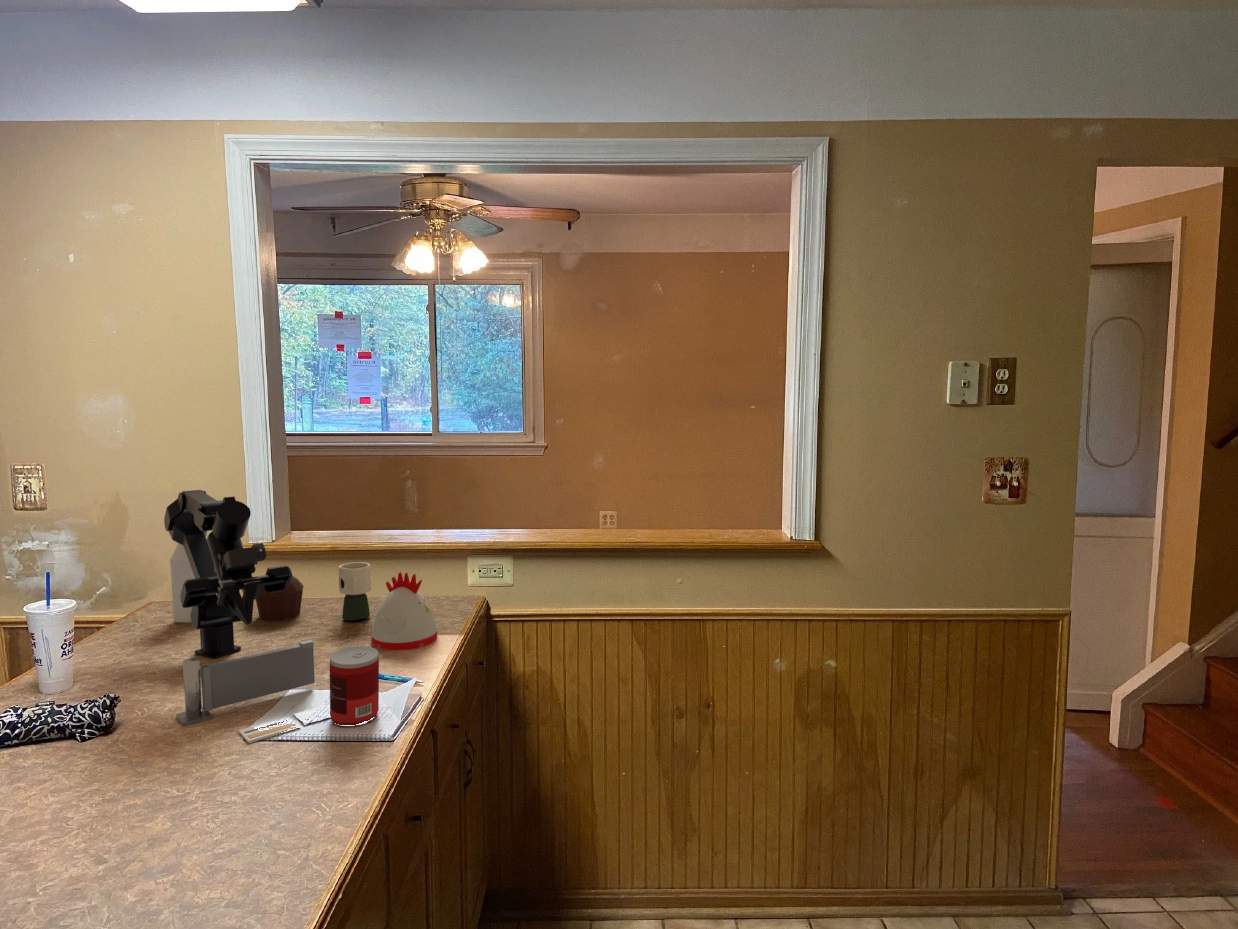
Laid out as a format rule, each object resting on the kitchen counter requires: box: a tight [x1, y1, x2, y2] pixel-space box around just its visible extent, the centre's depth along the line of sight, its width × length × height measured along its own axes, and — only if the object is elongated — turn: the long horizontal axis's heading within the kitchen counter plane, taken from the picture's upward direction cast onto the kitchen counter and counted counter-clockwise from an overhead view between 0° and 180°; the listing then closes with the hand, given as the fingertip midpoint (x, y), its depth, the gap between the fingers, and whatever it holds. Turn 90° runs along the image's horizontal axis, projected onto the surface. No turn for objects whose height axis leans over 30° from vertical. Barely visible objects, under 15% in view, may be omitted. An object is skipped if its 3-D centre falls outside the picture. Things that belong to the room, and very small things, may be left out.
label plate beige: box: [238, 720, 296, 744], centre depth 127 cm, size 8×5×1 cm, turn 132°
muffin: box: [255, 575, 305, 622], centre depth 187 cm, size 12×11×10 cm
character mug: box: [338, 561, 372, 622], centre depth 184 cm, size 11×7×13 cm, turn 16°
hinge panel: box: [200, 639, 316, 712], centre depth 138 cm, size 18×2×8 cm, turn 132°
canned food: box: [329, 645, 380, 726], centre depth 131 cm, size 8×8×11 cm
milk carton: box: [169, 541, 208, 623], centre depth 183 cm, size 7×7×19 cm
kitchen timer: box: [370, 571, 438, 651], centre depth 170 cm, size 14×14×15 cm
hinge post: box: [175, 657, 213, 727], centre depth 130 cm, size 4×4×10 cm
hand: (249, 623), depth 144 cm, fingers closed
